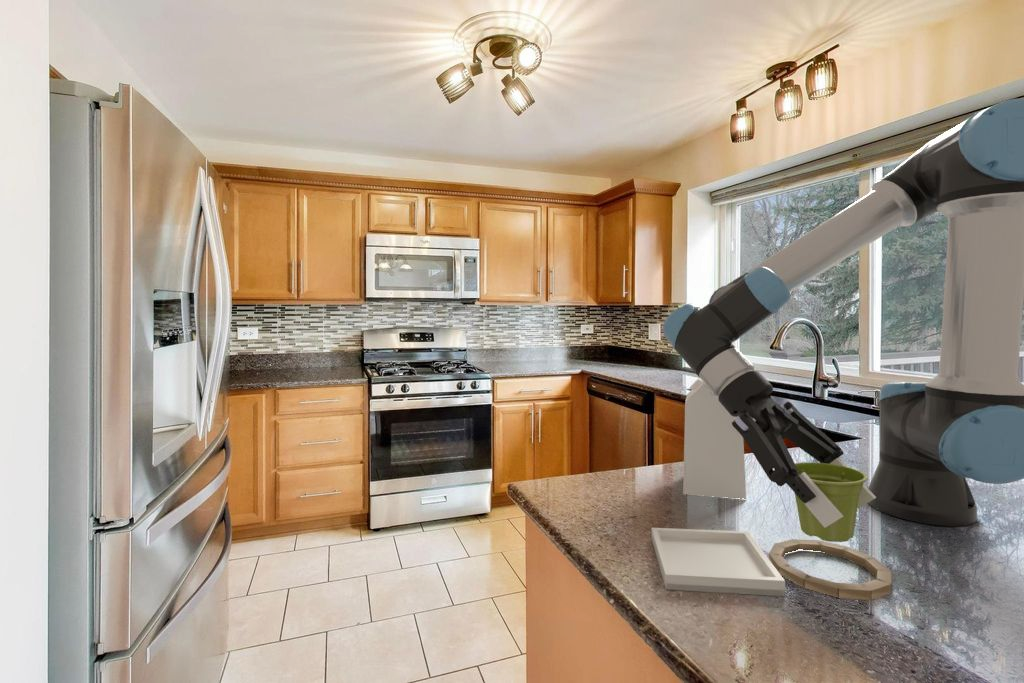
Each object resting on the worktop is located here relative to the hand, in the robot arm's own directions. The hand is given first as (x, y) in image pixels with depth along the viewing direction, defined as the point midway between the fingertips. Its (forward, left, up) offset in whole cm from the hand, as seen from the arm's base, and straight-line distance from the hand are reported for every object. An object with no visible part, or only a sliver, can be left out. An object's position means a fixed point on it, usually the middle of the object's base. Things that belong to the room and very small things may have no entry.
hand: (851, 512), depth 65 cm
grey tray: (+17, -2, -9) cm, 20 cm away
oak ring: (+2, -2, -9) cm, 10 cm away
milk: (+9, -36, -9) cm, 38 cm away
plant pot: (+2, -2, -4) cm, 5 cm away
